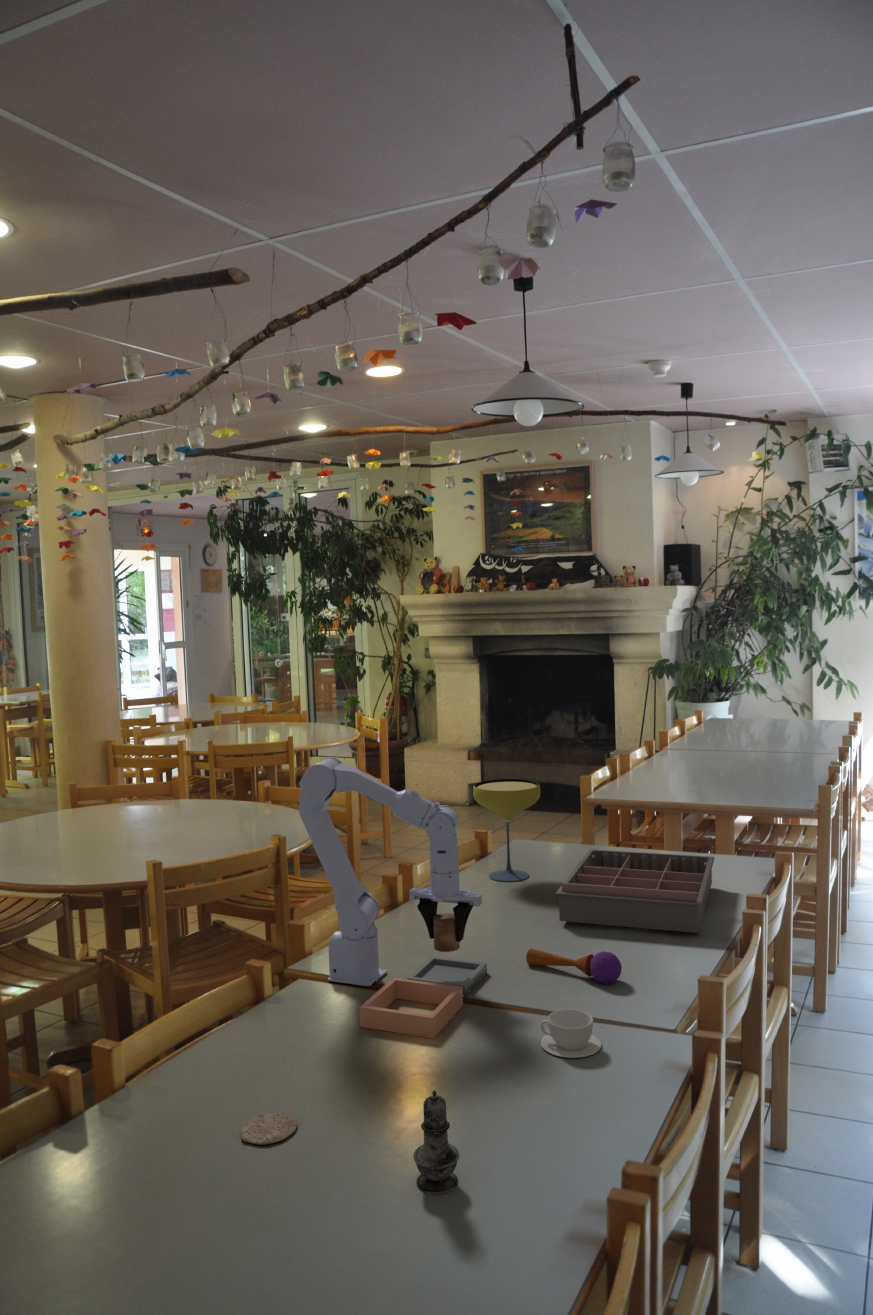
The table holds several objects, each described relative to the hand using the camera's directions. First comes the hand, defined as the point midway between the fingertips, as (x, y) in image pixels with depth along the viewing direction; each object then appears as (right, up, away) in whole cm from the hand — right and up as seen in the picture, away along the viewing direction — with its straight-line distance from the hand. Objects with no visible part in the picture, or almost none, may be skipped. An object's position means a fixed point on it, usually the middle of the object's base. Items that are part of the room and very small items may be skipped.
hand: (446, 938), depth 185 cm
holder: (-6, -9, -15) cm, 19 cm away
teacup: (+20, -10, -28) cm, 36 cm away
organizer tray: (+47, -5, +43) cm, 64 cm away
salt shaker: (-2, -12, -65) cm, 66 cm away
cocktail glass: (+18, -4, +71) cm, 73 cm away
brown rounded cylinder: (0, -2, 0) cm, 2 cm away
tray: (0, -8, 0) cm, 8 cm away
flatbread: (-26, -12, -51) cm, 59 cm away
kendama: (+25, -8, +2) cm, 26 cm away
